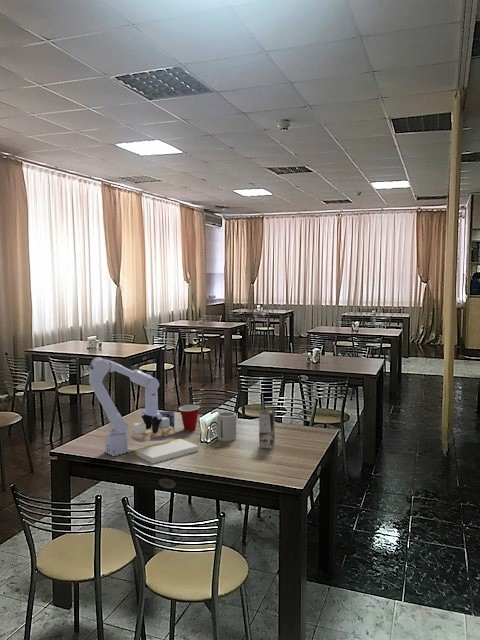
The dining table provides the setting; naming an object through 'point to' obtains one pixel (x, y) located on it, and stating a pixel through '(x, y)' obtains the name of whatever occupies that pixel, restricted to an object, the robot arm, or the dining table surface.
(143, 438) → the pallet
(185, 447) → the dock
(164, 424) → the block
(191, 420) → the plastic cup
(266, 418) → the coffee box
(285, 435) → the dining table surface
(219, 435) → the cup
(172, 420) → the box
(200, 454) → the dining table surface
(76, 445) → the dining table surface
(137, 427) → the crate
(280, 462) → the dining table surface
